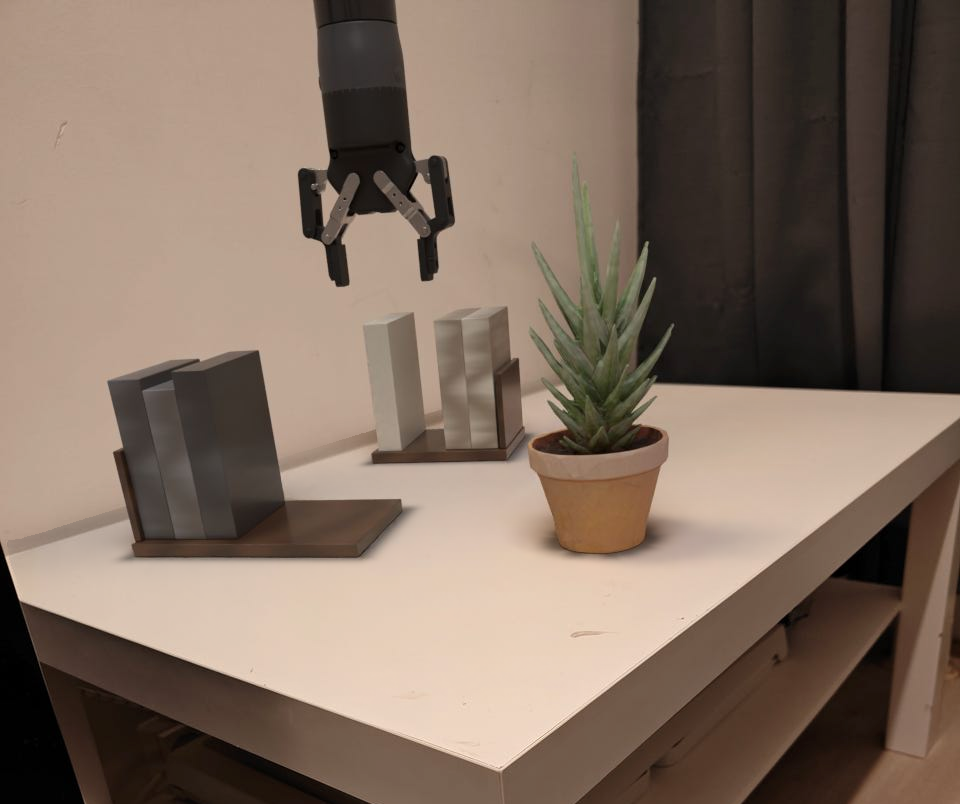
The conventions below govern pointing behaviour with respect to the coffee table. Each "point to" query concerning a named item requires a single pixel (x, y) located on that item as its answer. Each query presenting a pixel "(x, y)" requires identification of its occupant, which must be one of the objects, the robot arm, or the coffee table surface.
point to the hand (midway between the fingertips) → (384, 283)
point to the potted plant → (598, 402)
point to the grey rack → (221, 469)
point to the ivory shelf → (471, 392)
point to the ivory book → (395, 380)
